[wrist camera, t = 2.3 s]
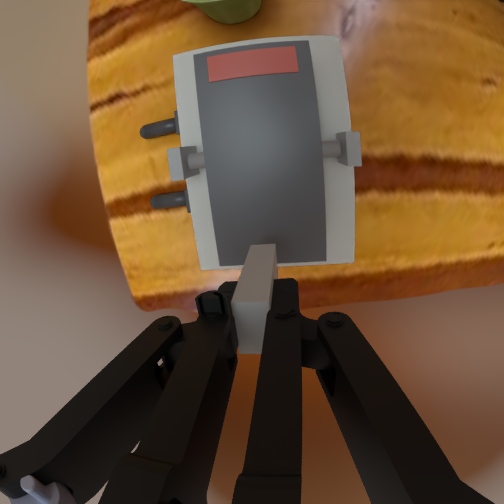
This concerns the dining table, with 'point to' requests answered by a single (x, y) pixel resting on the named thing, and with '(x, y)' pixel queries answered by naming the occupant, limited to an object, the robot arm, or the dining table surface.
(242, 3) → the plant pot
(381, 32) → the dining table surface
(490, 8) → the dining table surface
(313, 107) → the rocker
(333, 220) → the switch box
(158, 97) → the dining table surface
